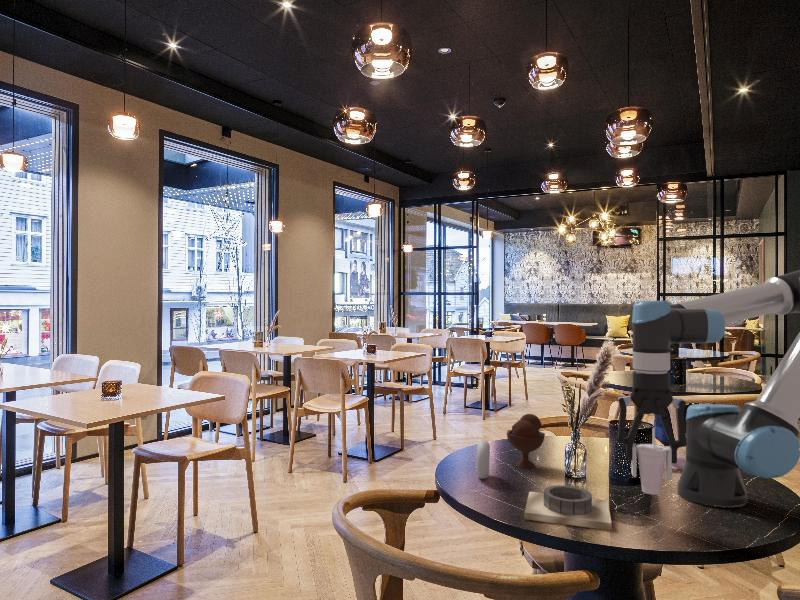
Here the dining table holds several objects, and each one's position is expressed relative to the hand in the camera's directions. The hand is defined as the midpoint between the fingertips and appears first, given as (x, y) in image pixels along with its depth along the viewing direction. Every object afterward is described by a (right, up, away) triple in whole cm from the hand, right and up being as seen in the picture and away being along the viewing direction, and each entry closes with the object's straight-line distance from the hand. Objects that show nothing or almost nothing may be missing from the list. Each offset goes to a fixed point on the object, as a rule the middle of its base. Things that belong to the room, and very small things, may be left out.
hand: (651, 476), depth 124 cm
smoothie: (0, -4, 0) cm, 4 cm away
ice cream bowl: (-19, -10, +40) cm, 45 cm away
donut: (-33, -10, +29) cm, 44 cm away
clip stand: (-17, -10, +5) cm, 20 cm away
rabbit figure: (+26, -10, +38) cm, 48 cm away
